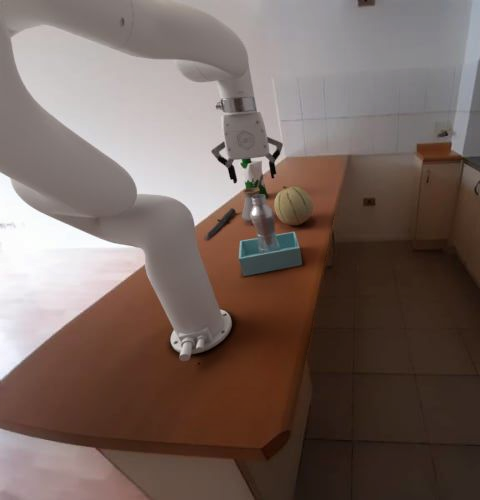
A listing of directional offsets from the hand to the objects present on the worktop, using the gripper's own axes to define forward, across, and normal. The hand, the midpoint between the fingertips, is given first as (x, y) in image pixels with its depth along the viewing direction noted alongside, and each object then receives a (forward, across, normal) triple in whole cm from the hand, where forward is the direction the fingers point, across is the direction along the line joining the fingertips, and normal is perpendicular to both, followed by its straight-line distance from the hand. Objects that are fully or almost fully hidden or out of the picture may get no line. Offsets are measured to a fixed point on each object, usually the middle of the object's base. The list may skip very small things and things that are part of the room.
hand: (254, 179), depth 73 cm
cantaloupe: (+26, +11, +26) cm, 38 cm away
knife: (+26, -18, +36) cm, 48 cm away
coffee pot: (+26, -2, +40) cm, 47 cm away
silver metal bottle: (+25, 0, +1) cm, 25 cm away
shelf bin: (+26, 0, +1) cm, 26 cm away
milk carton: (+25, -3, +64) cm, 68 cm away
